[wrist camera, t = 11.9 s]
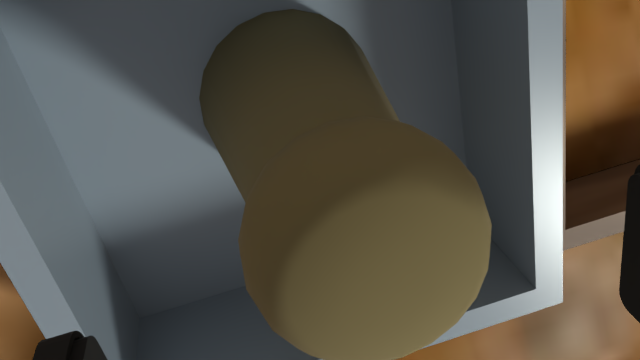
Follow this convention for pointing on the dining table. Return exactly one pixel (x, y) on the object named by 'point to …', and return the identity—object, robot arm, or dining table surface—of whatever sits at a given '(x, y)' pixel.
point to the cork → (340, 194)
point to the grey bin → (213, 176)
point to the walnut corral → (592, 192)
